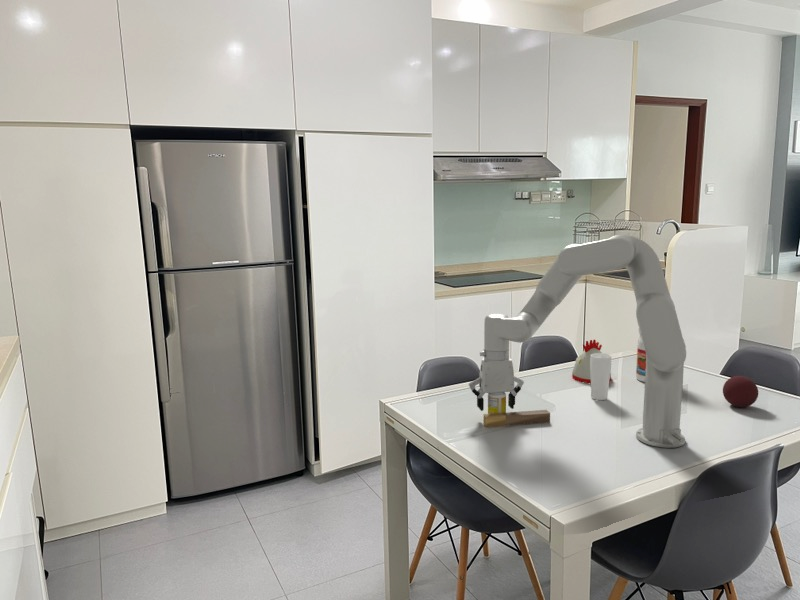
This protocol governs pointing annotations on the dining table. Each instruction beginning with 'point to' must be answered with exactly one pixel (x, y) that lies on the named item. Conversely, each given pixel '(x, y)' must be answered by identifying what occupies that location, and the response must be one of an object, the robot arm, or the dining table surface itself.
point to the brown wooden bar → (516, 418)
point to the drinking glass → (600, 375)
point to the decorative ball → (740, 391)
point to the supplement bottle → (497, 402)
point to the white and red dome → (585, 362)
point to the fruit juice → (641, 360)
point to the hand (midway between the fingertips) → (496, 408)
